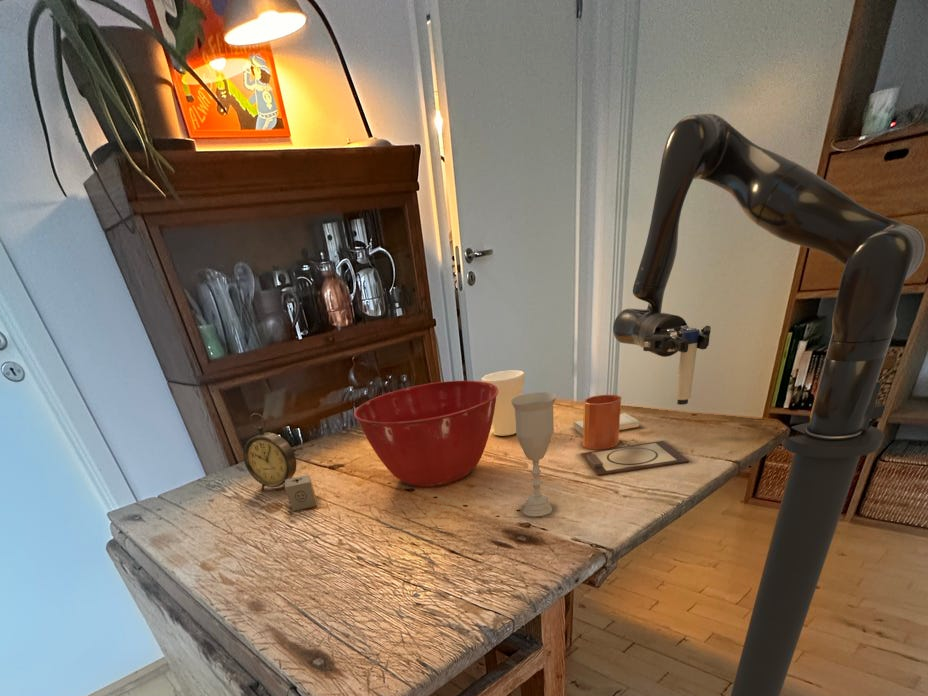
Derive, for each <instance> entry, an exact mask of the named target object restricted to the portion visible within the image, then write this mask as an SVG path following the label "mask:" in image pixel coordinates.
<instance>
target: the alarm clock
mask: <svg viewBox="0 0 928 696" xmlns="http://www.w3.org/2000/svg"><path fill="white" fill-rule="evenodd" d="M254 416H259V417H260V418H261V419H262V420H263V426H258V427H257V426H256V425H255V424H254V423H253V417H254ZM249 421H250V424H251V425H252V426H253V427H254V428H255V429H257V430H258V435H255V436H253V437H250V438H249V439H248V440H247V441H246V443H245V444H244V447H243V450H242V451H243V453H242V456H243V457H242V458H243V462H244V465H245V467H246V469H247V471H248V473H249V474H250V476H251V477H252V478H253V479H254V480H255V481H256V482H258V483H259V484H261V488H260V489H261V490H262V491H264V490H265V487H267V488H279V487H281V486H283V485H284V484H285V480H286V479H291V478H294V476H295V474H296V470H297V458H296V454H295V452H294V449H293V448H292V446H291V445H290V444H289V442H288V441H287V440H286V439H284V438H283V437H282V436H281V435H279V434H276V433H274V432H264V431H263V430H264V428H266V419H265V417H263V415H262V414H260V413H258V412H254V413H252V414H250V418H249Z"/></svg>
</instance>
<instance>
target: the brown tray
mask: <svg viewBox="0 0 928 696" xmlns="http://www.w3.org/2000/svg"><path fill="white" fill-rule="evenodd" d="M580 456H581V457H582V458H583V460H584V461H585V462H586V463H587V464H588V466H589V467H590V468H591V469H592V470H593V472H594V473H595V474H596V475H597V476H598V477H599V476H605V475H612V474H619V473H626V472H631V471H632V472H633V471H639V470H645V469H653V468H658V467H659V468H660V467H664V466H665V467H667V466H673V465H677V464H678V465H679V464H686V463H689V462H690V460H689V459H688V458H687V457H685V456H684V455H683V454H681V453H680V452H679V451H677V450H676V449H674V448H673V447H671V445H669V444H668V443H667V442H665V441H664V440H660V441H658V440H657V441H653V442H647V443H641V444H632V445H626V446H621V447H615V448H614V447H612V448H607V449H599V450H594V451H587V452H581V453H580Z"/></svg>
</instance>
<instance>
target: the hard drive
mask: <svg viewBox="0 0 928 696" xmlns="http://www.w3.org/2000/svg"><path fill="white" fill-rule="evenodd" d="M639 427H640V421H639V419H637V418H635V417H633V416H632V415H630V414H628V413H626V412H623V413H620V430H619V431H625V430H629V429H634V428H639ZM573 429H574V430H575V431H577V433H579V434H580V435H582V436H583V420H578V421H574V422H573Z"/></svg>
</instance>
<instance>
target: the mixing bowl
mask: <svg viewBox="0 0 928 696" xmlns="http://www.w3.org/2000/svg"><path fill="white" fill-rule="evenodd" d="M497 394H498V388H497V387H496V386H495V385H493V384H490V383H487V382H482V380H480V381H479V380H445V381H438V382H430V383H424V384H419V385H413V386H409V387H404V388H400V389H397V390H394V391H390V392H387V393H384V394H382V395H381V394H380V395H379V396H376V397H374V398H372V399H369V400H367V401H366V402H363V403H362V404H360V405H359V406H358V407H357V408H356V409H355V410H354V413H353V415H354V418H355V419H357V421H358V423H359V425H360V428H361V430H362V432H363V433H364V436H365V437H366V439H367V442H368V443H369V445H370V446H371V448H372V450H373V451H374V453H375V454H376V456H377V457H378V459H380V461H381V462H382V464H383V466H385V467H386V468H387V470H388V471H389V473H391V474H392V476H393V477H395V478H396V479H397V480H400V481H401V482H403V483H405V484H408V485H409V486H412V487H416V488H438V487H443V486H447V485H450V484H454V483H456V482H458V481H461V480H462V479H464V478H465V477H467V475H469V473H471V472H472V471H473V470H474V469H475V468H476V466H477V465H478V464H479V462H480V460H482V459H481V458H482V456H483V454H484V451H485V448H486V446H487V443H488V440H489V436H490V432H491V429H492V426H493V424H492V420H493V415H494V409H495V403H496V396H497Z"/></svg>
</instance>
